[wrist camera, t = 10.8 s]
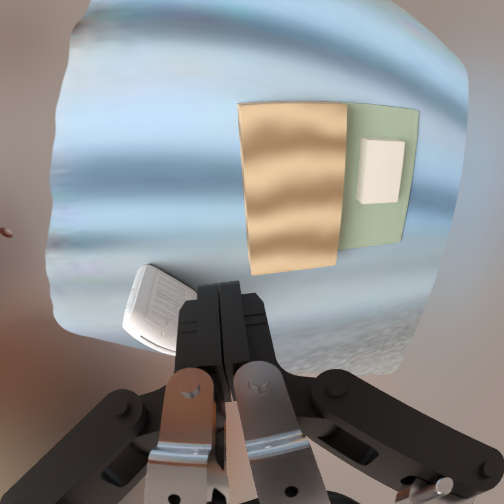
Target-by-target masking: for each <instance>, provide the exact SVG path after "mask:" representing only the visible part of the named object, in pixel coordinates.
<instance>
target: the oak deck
mask: <svg viewBox="0 0 504 504" xmlns="http://www.w3.org/2000/svg"><path fill="white" fill-rule="evenodd" d="M237 108H238V122H239V136H240V150H241V163H242V177H243V190H244V204H245V217H246V230H247V244H248V257H249V263H250V268H251V273H252V276H253V275H261V274H269V273H277V272H285V271H293V270H301V269H309V268H316V267H324V266H331V265H336V258H337V250H338V242H339V233H340V223H341V213H342V202H343V189H344V175H345V158H346V134H347V105H346V104H342V103H337V102H327V101H272V102H251V103H237Z"/></svg>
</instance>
